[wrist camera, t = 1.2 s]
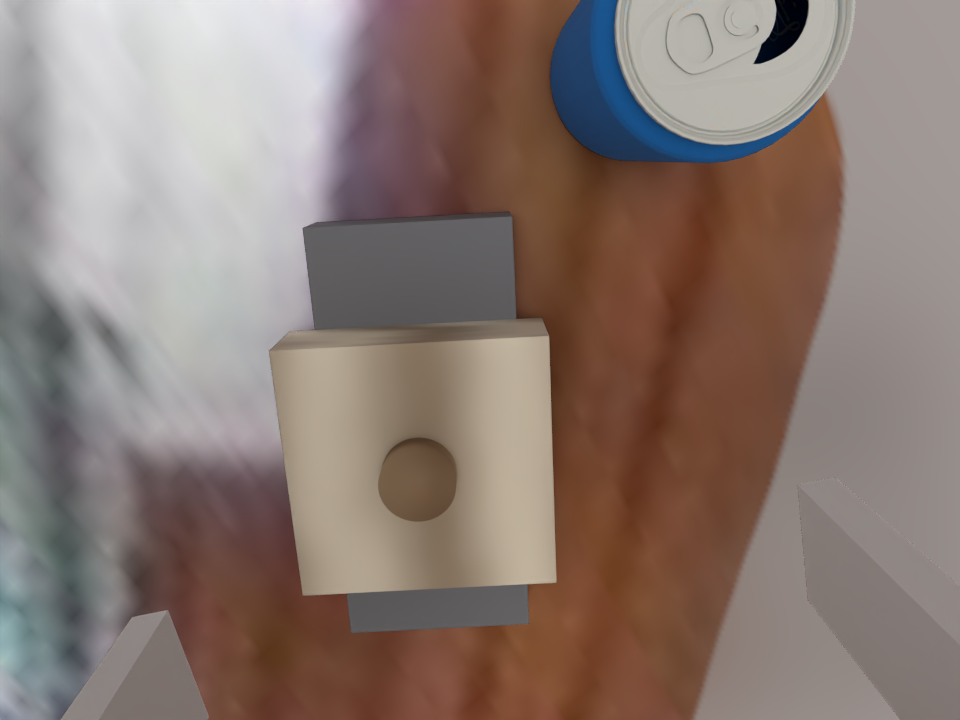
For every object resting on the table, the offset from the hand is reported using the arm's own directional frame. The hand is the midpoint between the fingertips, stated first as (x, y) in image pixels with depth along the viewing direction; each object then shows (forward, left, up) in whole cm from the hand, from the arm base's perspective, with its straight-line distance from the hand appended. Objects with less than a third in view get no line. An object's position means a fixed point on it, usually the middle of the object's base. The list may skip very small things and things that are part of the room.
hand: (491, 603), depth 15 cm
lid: (-3, -2, -15) cm, 15 cm away
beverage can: (+6, +12, -18) cm, 22 cm away
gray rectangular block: (-3, -2, -18) cm, 18 cm away
